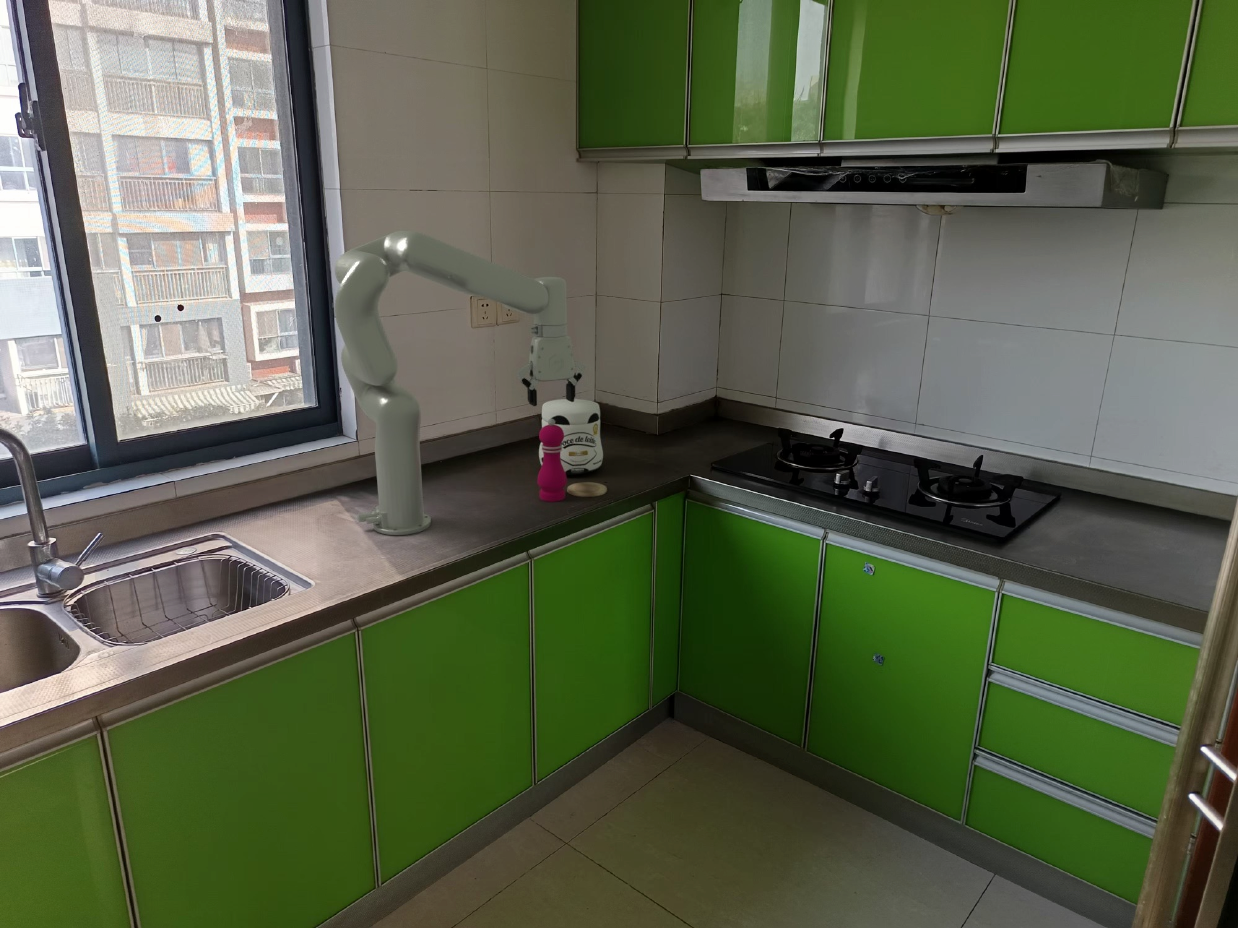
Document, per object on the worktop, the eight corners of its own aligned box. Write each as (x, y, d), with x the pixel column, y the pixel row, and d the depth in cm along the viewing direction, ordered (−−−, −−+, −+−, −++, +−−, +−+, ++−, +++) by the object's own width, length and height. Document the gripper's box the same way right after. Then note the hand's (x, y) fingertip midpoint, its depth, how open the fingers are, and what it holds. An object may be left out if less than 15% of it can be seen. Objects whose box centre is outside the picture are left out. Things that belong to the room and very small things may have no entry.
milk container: (575, 483, 230) (575, 416, 224) (525, 471, 240) (524, 406, 234) (615, 468, 243) (616, 404, 238) (567, 457, 253) (567, 395, 248)
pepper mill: (572, 496, 220) (572, 417, 214) (556, 504, 214) (555, 424, 208) (548, 491, 224) (547, 413, 218) (531, 499, 218) (530, 419, 212)
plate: (577, 499, 218) (577, 496, 218) (560, 487, 226) (560, 485, 226) (613, 493, 222) (613, 491, 222) (595, 482, 231) (595, 479, 231)
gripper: (522, 336, 200) (524, 410, 205) (591, 331, 208) (591, 402, 213) (509, 331, 206) (512, 403, 211) (577, 326, 214) (577, 396, 219)
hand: (551, 402), depth 212 cm, fingers open, 9 cm apart
